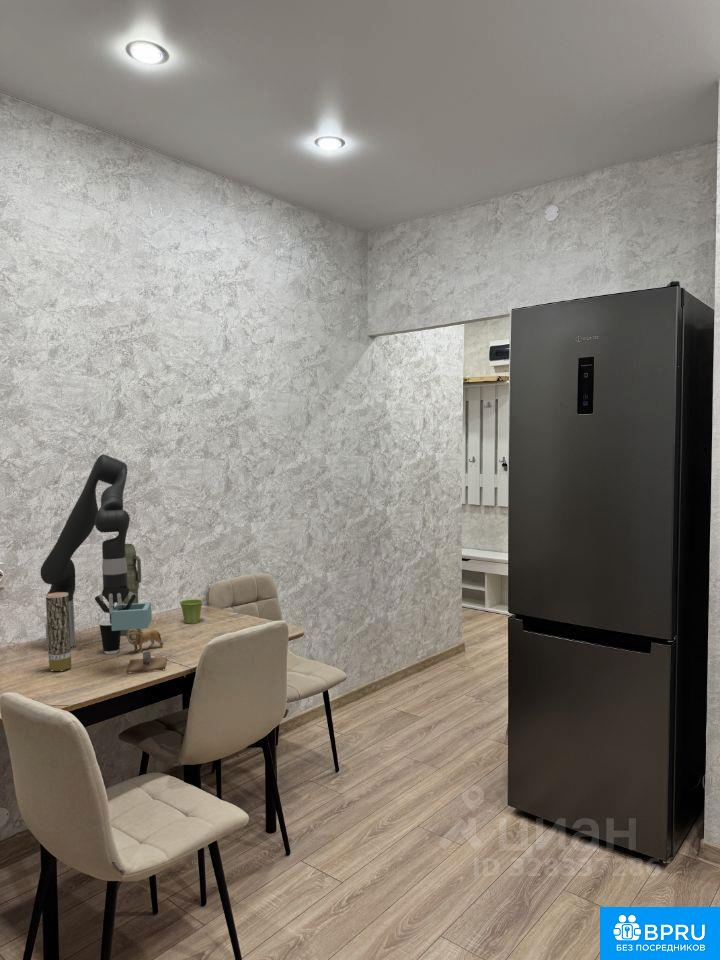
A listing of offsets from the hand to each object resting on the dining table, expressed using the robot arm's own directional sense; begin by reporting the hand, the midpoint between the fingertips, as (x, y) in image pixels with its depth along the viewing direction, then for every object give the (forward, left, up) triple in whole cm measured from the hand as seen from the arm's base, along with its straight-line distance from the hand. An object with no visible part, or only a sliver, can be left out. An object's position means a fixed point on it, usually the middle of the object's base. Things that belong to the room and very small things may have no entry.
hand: (117, 624), depth 229 cm
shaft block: (+9, +2, -15) cm, 18 cm away
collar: (+5, 0, -1) cm, 5 cm away
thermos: (-2, +49, -15) cm, 51 cm away
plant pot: (+22, +59, -15) cm, 64 cm away
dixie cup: (-5, +23, -15) cm, 28 cm away
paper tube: (-19, +7, -15) cm, 26 cm away
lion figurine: (+6, +22, -15) cm, 27 cm away
